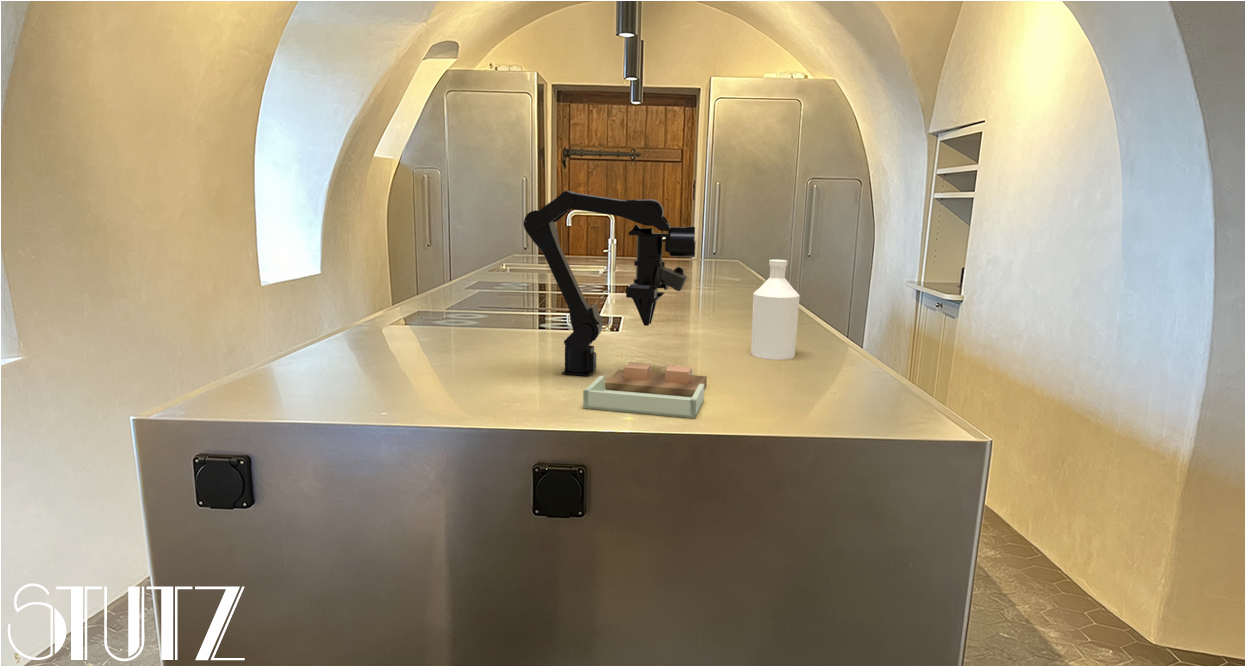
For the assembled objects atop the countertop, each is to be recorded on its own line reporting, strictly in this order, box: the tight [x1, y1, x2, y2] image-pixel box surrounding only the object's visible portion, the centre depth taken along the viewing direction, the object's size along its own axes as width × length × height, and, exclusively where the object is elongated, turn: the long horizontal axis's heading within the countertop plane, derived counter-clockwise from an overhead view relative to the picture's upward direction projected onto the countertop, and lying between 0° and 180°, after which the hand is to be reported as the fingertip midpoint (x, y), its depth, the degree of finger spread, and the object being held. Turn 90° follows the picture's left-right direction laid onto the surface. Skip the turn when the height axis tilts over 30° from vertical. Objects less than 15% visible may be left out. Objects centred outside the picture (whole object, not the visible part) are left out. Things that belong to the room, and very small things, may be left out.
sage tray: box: [582, 375, 705, 419], centre depth 144 cm, size 22×12×4 cm, turn 76°
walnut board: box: [605, 369, 708, 397], centre depth 156 cm, size 20×12×2 cm, turn 76°
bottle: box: [750, 259, 801, 361], centre depth 189 cm, size 12×12×25 cm
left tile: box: [623, 361, 652, 380], centre depth 158 cm, size 5×5×2 cm
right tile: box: [664, 364, 693, 384], centre depth 156 cm, size 5×5×2 cm
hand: (647, 324), depth 165 cm, fingers closed
